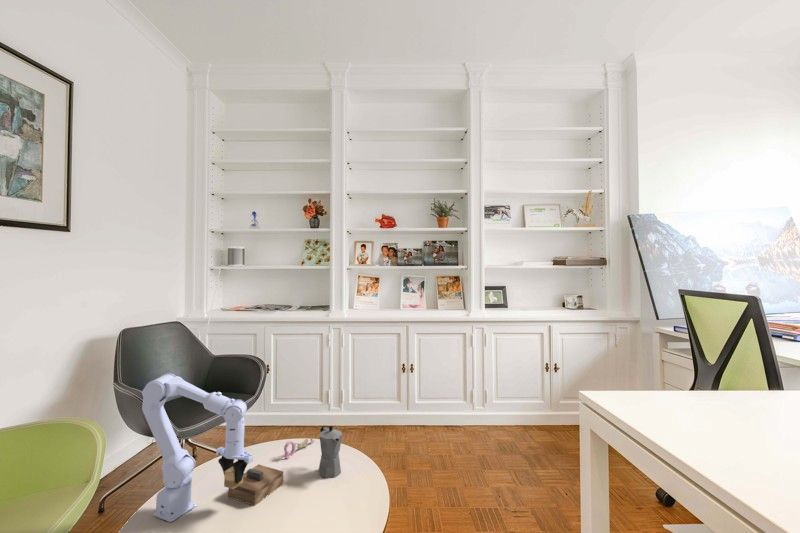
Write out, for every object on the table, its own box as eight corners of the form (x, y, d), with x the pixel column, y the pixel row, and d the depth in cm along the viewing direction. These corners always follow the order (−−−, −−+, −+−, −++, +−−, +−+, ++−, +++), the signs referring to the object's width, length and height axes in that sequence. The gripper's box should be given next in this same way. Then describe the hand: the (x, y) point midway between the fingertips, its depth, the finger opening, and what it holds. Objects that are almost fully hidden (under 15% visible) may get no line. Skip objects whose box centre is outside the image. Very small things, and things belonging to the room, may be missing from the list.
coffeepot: (348, 476, 144) (349, 429, 144) (325, 483, 138) (327, 435, 139) (330, 459, 156) (332, 416, 157) (309, 466, 151) (310, 421, 151)
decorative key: (315, 448, 172) (284, 460, 154) (313, 448, 172) (282, 459, 155) (317, 433, 173) (287, 443, 155) (315, 432, 174) (284, 442, 156)
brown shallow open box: (254, 505, 124) (255, 495, 124) (228, 496, 129) (228, 486, 129) (283, 484, 137) (283, 474, 137) (258, 476, 142) (258, 467, 142)
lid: (255, 494, 124) (255, 483, 124) (228, 485, 129) (229, 475, 129) (283, 474, 137) (283, 464, 137) (258, 467, 142) (258, 457, 142)
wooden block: (233, 489, 121) (233, 473, 121) (224, 486, 122) (224, 471, 122) (242, 483, 124) (243, 468, 125) (233, 480, 126) (234, 465, 126)
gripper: (260, 438, 125) (259, 479, 124) (228, 430, 130) (227, 469, 130) (244, 447, 118) (242, 490, 118) (211, 438, 124) (209, 479, 123)
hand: (233, 480), depth 123 cm, fingers closed on wooden block, 4 cm apart
